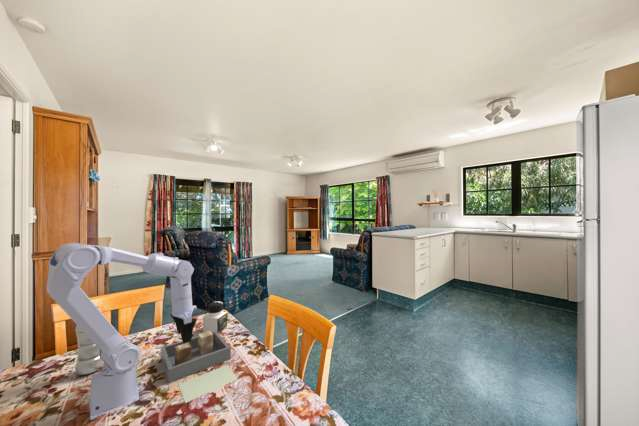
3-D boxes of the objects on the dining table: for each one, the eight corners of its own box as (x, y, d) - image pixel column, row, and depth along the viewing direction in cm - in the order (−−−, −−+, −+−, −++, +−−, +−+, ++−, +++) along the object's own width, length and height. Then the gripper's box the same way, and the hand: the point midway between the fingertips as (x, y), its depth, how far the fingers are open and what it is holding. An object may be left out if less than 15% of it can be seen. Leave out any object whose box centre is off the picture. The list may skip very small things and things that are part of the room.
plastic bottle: (105, 371, 76) (106, 308, 76) (74, 381, 71) (75, 314, 71) (103, 362, 80) (103, 303, 81) (74, 372, 75) (75, 308, 76)
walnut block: (177, 370, 75) (177, 351, 75) (174, 364, 78) (175, 345, 78) (191, 365, 77) (191, 346, 78) (188, 359, 80) (188, 341, 81)
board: (185, 405, 62) (185, 402, 62) (178, 386, 69) (178, 384, 69) (238, 380, 71) (238, 378, 71) (227, 366, 78) (227, 364, 78)
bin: (168, 385, 69) (168, 369, 69) (160, 360, 81) (160, 347, 81) (230, 360, 81) (230, 347, 81) (215, 342, 93) (215, 330, 93)
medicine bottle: (217, 335, 98) (217, 306, 99) (202, 334, 100) (202, 305, 100) (227, 327, 105) (227, 300, 106) (213, 326, 107) (213, 299, 107)
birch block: (201, 355, 83) (201, 338, 83) (198, 350, 86) (198, 333, 86) (213, 351, 86) (213, 334, 86) (209, 346, 89) (209, 330, 89)
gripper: (201, 299, 75) (203, 341, 75) (190, 287, 86) (192, 324, 86) (175, 306, 70) (178, 350, 71) (167, 293, 81) (169, 332, 81)
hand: (184, 337), depth 78 cm, fingers open, 7 cm apart
